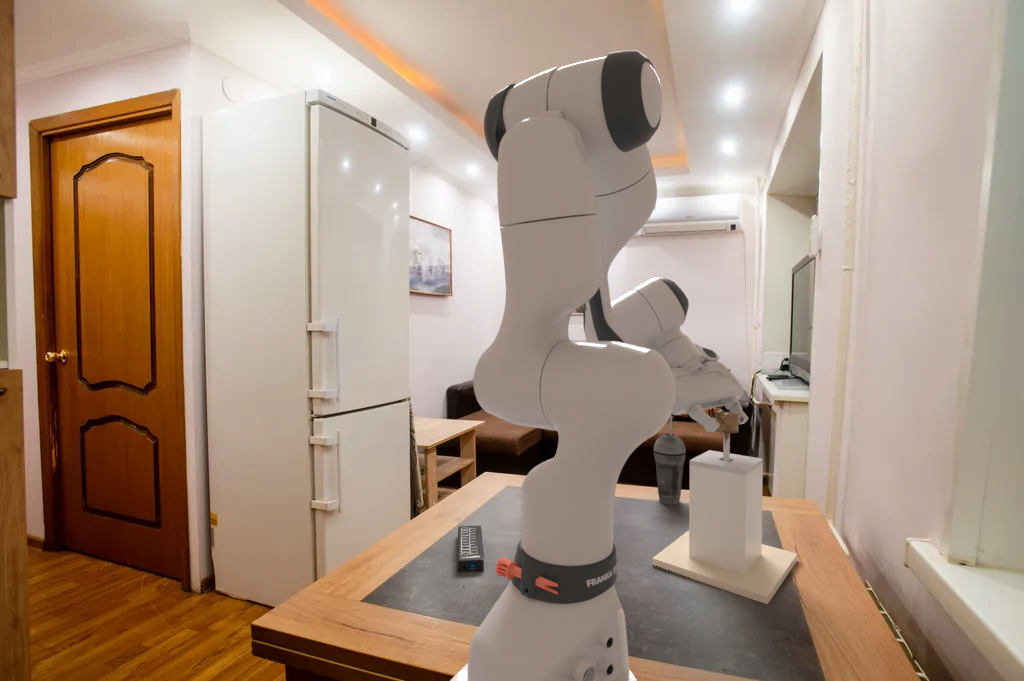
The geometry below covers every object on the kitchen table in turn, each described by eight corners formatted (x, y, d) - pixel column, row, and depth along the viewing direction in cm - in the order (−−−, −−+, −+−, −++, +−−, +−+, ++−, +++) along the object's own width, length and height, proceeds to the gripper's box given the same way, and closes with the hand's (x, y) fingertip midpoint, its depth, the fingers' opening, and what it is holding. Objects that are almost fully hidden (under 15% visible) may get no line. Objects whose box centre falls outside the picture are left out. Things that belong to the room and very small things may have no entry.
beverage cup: (681, 496, 118) (682, 412, 118) (689, 507, 111) (690, 418, 111) (650, 495, 119) (650, 411, 118) (656, 506, 112) (656, 417, 111)
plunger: (740, 532, 80) (741, 418, 80) (697, 520, 85) (698, 413, 84) (754, 519, 86) (755, 412, 85) (712, 509, 90) (713, 408, 90)
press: (767, 604, 73) (769, 483, 72) (652, 565, 85) (652, 461, 84) (797, 560, 86) (798, 458, 86) (694, 531, 98) (694, 441, 98)
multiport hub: (481, 536, 98) (481, 525, 97) (484, 573, 83) (483, 559, 83) (458, 537, 97) (458, 526, 97) (457, 574, 83) (457, 561, 83)
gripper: (654, 355, 83) (708, 422, 76) (719, 350, 96) (771, 407, 89) (633, 379, 87) (682, 446, 80) (698, 372, 100) (746, 428, 92)
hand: (729, 425), depth 84 cm, fingers open, 8 cm apart
